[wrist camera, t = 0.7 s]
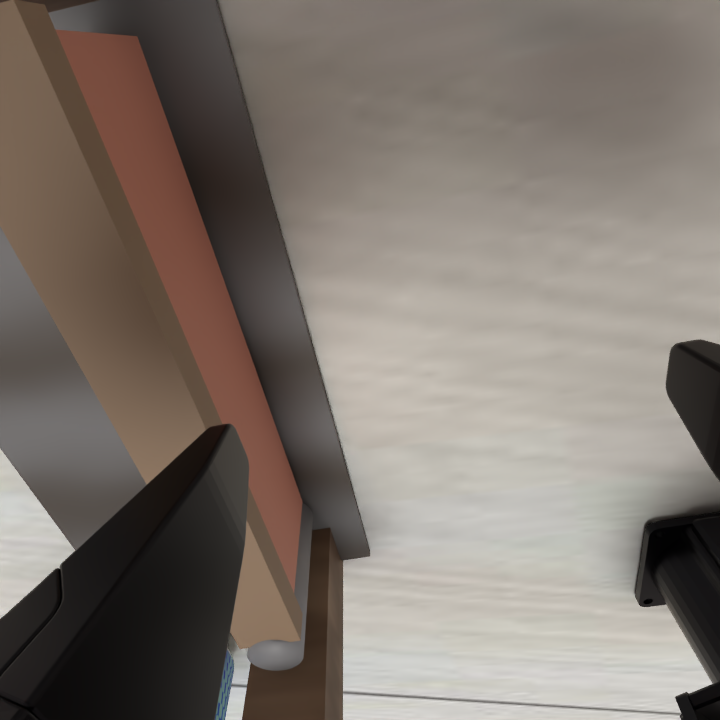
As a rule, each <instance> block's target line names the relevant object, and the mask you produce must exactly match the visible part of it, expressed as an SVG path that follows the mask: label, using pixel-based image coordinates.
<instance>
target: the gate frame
mask: <svg viewBox="0 0 720 720" xmlns="http://www.w3.org/2000/svg"><path fill="white" fill-rule="evenodd" d="M5 1H9V0H0V3H1V2H5ZM20 1H26V2H32V3H38V4H44V5H45V6H46V9H47V11H48V14H49V16H50V18H51V21H52V23H53V25H54V28H55V30H67V31H79V32H91V33H104V34H116V35H128V36H137V37H138V40H139V43H140V45H141V48H142V51H143V54H144V57H145V60H146V62H147V65H148V68H149V71H150V74H151V76H152V79H153V82H154V85H155V88H156V90H157V93H158V96H159V99H160V102H161V105H162V107H163V110H164V113H165V116H166V119H167V121H168V124H169V127H170V130H171V133H172V136H173V138H174V141H175V144H176V147H177V150H178V152H179V155H180V158H181V161H182V164H183V166H184V169H185V172H186V175H187V178H188V181H189V183H190V186H191V189H192V192H193V195H194V197H195V200H196V203H197V206H198V209H199V212H200V214H201V217H202V220H203V223H204V226H205V228H206V231H207V234H208V237H209V240H210V242H211V245H212V248H213V251H214V254H215V257H216V259H217V262H218V265H219V268H220V271H221V273H222V276H223V279H224V282H225V285H226V288H227V290H228V293H229V296H230V299H231V302H232V304H233V307H234V310H235V313H236V316H237V318H238V321H239V324H240V327H241V330H242V333H243V335H244V338H245V341H246V344H247V347H248V349H249V352H250V355H251V358H252V361H253V364H254V366H255V369H256V372H257V375H258V378H259V380H260V383H261V386H262V389H263V392H264V394H265V397H266V400H267V403H268V406H269V409H270V411H271V414H272V417H273V420H274V423H275V425H276V428H277V431H278V434H279V437H280V440H281V442H282V445H283V448H284V451H285V454H286V456H287V459H288V462H289V465H290V468H291V470H292V473H293V476H294V479H295V482H296V485H297V487H298V490H299V493H300V496H301V499H302V501H303V502H302V503H303V504H305V505H307V506H308V507H309V508H310V509H311V511H312V513H313V524H312V539H311V554H310V569H309V584H308V599H307V614H306V629H305V644H304V657H303V660H302V662H301V663H300V664H299V665H297V666H296V667H293V668H291V669H287V670H281V671H272V670H265V669H262V668H259V667H257V666H255V665H254V664H252V663H251V665H250V671H249V678H248V684H247V691H246V697H245V704H244V710H243V717H242V720H343V560H348V559H354V558H361V557H368V556H370V550H369V547H368V543H367V539H366V536H365V532H364V529H363V525H362V522H361V518H360V514H359V511H358V507H357V504H356V500H355V496H354V493H353V489H352V486H351V482H350V478H349V475H348V471H347V468H346V464H345V460H344V457H343V453H342V450H341V446H340V442H339V439H338V435H337V432H336V428H335V424H334V421H333V417H332V414H331V410H330V406H329V403H328V399H327V396H326V392H325V388H324V385H323V381H322V378H321V374H320V370H319V367H318V363H317V360H316V356H315V352H314V349H313V345H312V342H311V338H310V334H309V331H308V327H307V324H306V320H305V316H304V313H303V309H302V306H301V302H300V298H299V295H298V291H297V288H296V284H295V280H294V277H293V273H292V270H291V266H290V263H289V259H288V255H287V252H286V248H285V245H284V241H283V237H282V234H281V230H280V227H279V223H278V219H277V216H276V212H275V209H274V205H273V201H272V198H271V194H270V191H269V187H268V183H267V180H266V176H265V173H264V169H263V165H262V162H261V158H260V155H259V151H258V147H257V144H256V140H255V137H254V133H253V129H252V126H251V122H250V119H249V115H248V111H247V108H246V104H245V101H244V97H243V93H242V90H241V86H240V83H239V79H238V75H237V72H236V68H235V65H234V61H233V57H232V54H231V50H230V47H229V43H228V39H227V36H226V32H225V29H224V25H223V21H222V18H221V14H220V11H219V7H218V4H217V0H20ZM0 448H1V450H2V451H3V452H4V454H5V455H6V457H7V458H8V459H9V461H10V462H11V463H12V465H13V466H14V467H15V469H16V470H17V471H18V473H19V474H20V476H21V477H22V478H23V480H24V481H25V482H26V484H27V485H28V486H29V488H30V489H31V491H32V492H33V493H34V495H35V496H36V497H37V499H38V500H39V501H40V503H41V504H42V505H43V507H44V508H45V510H46V511H47V512H48V514H49V515H50V516H51V518H52V519H53V520H54V522H55V523H56V525H57V526H58V527H59V529H60V530H61V531H62V533H63V534H64V535H65V537H66V538H67V539H68V541H69V542H70V544H71V545H72V546H73V548H74V549H75V550H77V549H78V548H79V547H80V546H81V545H82V544H83V543H84V542H85V541H86V540H87V539H89V538H90V537H91V536H92V535H93V534H94V533H95V532H96V531H97V530H98V529H99V528H100V527H102V526H103V525H104V524H105V523H106V522H107V521H108V520H109V519H110V518H111V517H112V516H113V515H115V514H116V513H117V512H118V511H119V510H120V509H121V508H122V507H123V506H124V505H125V504H126V503H128V502H129V501H130V500H131V499H132V498H133V497H134V496H135V495H136V494H137V493H138V492H139V491H141V490H142V489H143V488H144V487H145V486H146V485H147V484H146V483H145V481H144V479H143V477H142V476H141V474H140V472H139V470H138V468H137V467H136V465H135V463H134V461H133V460H132V458H131V456H130V454H129V453H128V451H127V449H126V447H125V446H124V444H123V442H122V440H121V438H120V437H119V435H118V433H117V431H116V430H115V428H114V426H113V424H112V423H111V421H110V419H109V417H108V416H107V414H106V412H105V410H104V408H103V407H102V405H101V403H100V401H99V400H98V398H97V396H96V394H95V393H94V391H93V389H92V387H91V386H90V384H89V382H88V380H87V378H86V377H85V375H84V373H83V371H82V370H81V368H80V366H79V364H78V363H77V361H76V359H75V357H74V356H73V354H72V352H71V350H70V349H69V347H68V345H67V343H66V341H65V340H64V338H63V336H62V334H61V333H60V331H59V329H58V327H57V326H56V324H55V322H54V320H53V319H52V317H51V315H50V313H49V311H48V310H47V308H46V306H45V304H44V303H43V301H42V299H41V297H40V296H39V294H38V292H37V290H36V289H35V287H34V285H33V283H32V281H31V280H30V278H29V276H28V274H27V273H26V271H25V269H24V267H23V266H22V264H21V262H20V260H19V259H18V257H17V255H16V253H15V251H14V250H13V248H12V246H11V244H10V243H9V241H8V239H7V237H6V236H5V234H4V232H3V230H2V229H1V227H0Z"/></svg>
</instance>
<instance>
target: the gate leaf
mask: <svg viewBox="0 0 720 720" xmlns="http://www.w3.org/2000/svg"><path fill="white" fill-rule="evenodd" d="M0 227H1V229H2V230H3V232H4V234H5V236H6V237H7V239H8V241H9V243H10V244H11V246H12V248H13V250H14V251H15V253H16V255H17V257H18V259H19V260H20V262H21V264H22V266H23V267H24V269H25V271H26V273H27V274H28V276H29V278H30V280H31V281H32V283H33V285H34V287H35V289H36V290H37V292H38V294H39V296H40V297H41V299H42V301H43V303H44V304H45V306H46V308H47V310H48V311H49V313H50V315H51V317H52V319H53V320H54V322H55V324H56V326H57V327H58V329H59V331H60V333H61V334H62V336H63V338H64V340H65V341H66V343H67V345H68V347H69V349H70V350H71V352H72V354H73V356H74V357H75V359H76V361H77V363H78V364H79V366H80V368H81V370H82V371H83V373H84V375H85V377H86V378H87V380H88V382H89V384H90V386H91V387H92V389H93V391H94V393H95V394H96V396H97V398H98V400H99V401H100V403H101V405H102V407H103V408H104V410H105V412H106V414H107V416H108V417H109V419H110V421H111V423H112V424H113V426H114V428H115V430H116V431H117V433H118V435H119V437H120V438H121V440H122V442H123V444H124V446H125V447H126V449H127V451H128V453H129V454H130V456H131V458H132V460H133V461H134V463H135V465H136V467H137V468H138V470H139V472H140V474H141V476H142V477H143V479H144V481H145V483H146V484H148V483H149V482H150V481H151V480H152V479H154V478H155V477H156V476H157V475H158V474H159V473H160V472H161V471H162V470H163V469H164V468H165V467H166V466H168V465H169V464H170V463H171V462H172V461H173V460H174V459H175V458H176V457H177V456H178V455H179V454H181V453H182V452H183V451H184V450H185V449H186V448H187V447H188V446H189V445H190V444H191V443H192V442H194V441H195V440H196V439H197V438H198V437H199V436H200V435H201V434H202V433H203V432H204V431H205V430H206V429H208V428H209V427H211V426H216V425H221V424H227V423H230V424H232V425H233V426H234V427H235V428H236V430H237V433H238V435H239V437H240V440H241V442H242V445H243V447H244V449H245V452H246V454H247V457H248V461H249V485H248V504H247V522H246V538H245V547H244V554H243V561H242V566H241V572H240V578H239V584H238V589H237V595H236V601H235V607H234V612H233V618H232V624H231V630H230V633H231V634H232V636H233V638H234V640H235V641H236V643H237V645H238V647H239V648H240V649H243V648H248V653H247V656H248V659H249V661H250V662H251V663H252V664H254V665H255V666H257V667H259V668H262V669H265V670H272V671H281V670H287V669H291V668H293V667H296V666H297V665H299V664H300V663H301V662H302V660H303V657H304V644H305V629H306V614H307V599H308V584H309V569H310V554H311V539H312V524H313V513H312V511H311V509H310V508H309V507H308V506H307V505H305V504H303V503H302V502H303V501H302V499H301V496H300V493H299V490H298V487H297V485H296V482H295V479H294V476H293V473H292V470H291V468H290V465H289V462H288V459H287V456H286V454H285V451H284V448H283V445H282V442H281V440H280V437H279V434H278V431H277V428H276V425H275V423H274V420H273V417H272V414H271V411H270V409H269V406H268V403H267V400H266V397H265V394H264V392H263V389H262V386H261V383H260V380H259V378H258V375H257V372H256V369H255V366H254V364H253V361H252V358H251V355H250V352H249V349H248V347H247V344H246V341H245V338H244V335H243V333H242V330H241V327H240V324H239V321H238V318H237V316H236V313H235V310H234V307H233V304H232V302H231V299H230V296H229V293H228V290H227V288H226V285H225V282H224V279H223V276H222V273H221V271H220V268H219V265H218V262H217V259H216V257H215V254H214V251H213V248H212V245H211V242H210V240H209V237H208V234H207V231H206V228H205V226H204V223H203V220H202V217H201V214H200V212H199V209H198V206H197V203H196V200H195V197H194V195H193V192H192V189H191V186H190V183H189V181H188V178H187V175H186V172H185V169H184V166H183V164H182V161H181V158H180V155H179V152H178V150H177V147H176V144H175V141H174V138H173V136H172V133H171V130H170V127H169V124H168V121H167V119H166V116H165V113H164V110H163V107H162V105H161V102H160V99H159V96H158V93H157V90H156V88H155V85H154V82H153V79H152V76H151V74H150V71H149V68H148V65H147V62H146V60H145V57H144V54H143V51H142V48H141V45H140V43H139V40H138V37H137V36H128V35H116V34H104V33H91V32H79V31H67V30H55V28H54V25H53V23H52V21H51V18H50V16H49V14H48V11H47V9H46V6H45V5H44V4H38V3H32V2H26V1H20V0H9V1H5V2H1V3H0Z"/></svg>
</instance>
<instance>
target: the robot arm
mask: <svg viewBox="0 0 720 720" xmlns="http://www.w3.org/2000/svg"><path fill="white" fill-rule="evenodd" d="M666 390H667V394H668V397H669V399H670V400H671V402H672V404H673V406H674V407H675V409H676V411H677V412H678V414H679V416H680V418H681V419H682V421H683V423H684V425H685V426H686V428H687V430H688V431H689V433H690V435H691V437H692V438H693V440H694V442H695V443H696V445H697V447H698V449H699V450H700V452H701V454H702V455H703V457H704V459H705V460H706V462H707V464H708V465H709V467H710V468H711V470H712V471H713V473H714V474H715V476H716V477H717V478H718V480H719V481H720V345H719V344H715V343H712V342H708V341H705V340H692V341H686V342H681V343H676V344H675V345H674V346H673V347H672V348H671V351H670V356H669V363H668V371H667V378H666ZM248 485H249V461H248V457H247V454H246V452H245V449H244V447H243V445H242V442H241V440H240V437H239V435H238V433H237V430H236V428H235V427H234V426H233V425H232V424H230V423H227V424H221V425H216V426H211V427H209V428H208V429H206V430H205V431H204V432H203V433H202V434H201V435H200V436H199V437H198V438H197V439H196V440H195V441H194V442H192V443H191V444H190V445H189V446H188V447H187V448H186V449H185V450H184V451H183V452H182V453H181V454H179V455H178V456H177V457H176V458H175V459H174V460H173V461H172V462H171V463H170V464H169V465H168V466H166V467H165V468H164V469H163V470H162V471H161V472H160V473H159V474H158V475H157V476H156V477H155V478H154V479H152V480H151V481H150V482H149V483H148V484H147V485H146V486H145V487H144V488H143V489H142V490H141V491H139V492H138V493H137V494H136V495H135V496H134V497H133V498H132V499H131V500H130V501H129V502H128V503H126V504H125V505H124V506H123V507H122V508H121V509H120V510H119V511H118V512H117V513H116V514H115V515H113V516H112V517H111V518H110V519H109V520H108V521H107V522H106V523H105V524H104V525H103V526H102V527H100V528H99V529H98V530H97V531H96V532H95V533H94V534H93V535H92V536H91V537H90V538H89V539H87V540H86V541H85V542H84V543H83V544H82V545H81V546H80V547H79V548H78V549H77V550H76V551H75V552H73V553H72V554H71V555H70V556H69V557H68V558H67V559H66V560H65V561H64V562H63V563H62V564H61V565H60V569H59V568H57V569H55V570H54V571H53V572H52V573H51V574H49V575H48V576H47V577H46V578H45V579H44V580H43V581H42V582H41V583H40V584H39V585H38V586H37V587H36V588H34V589H33V590H32V591H31V592H30V593H29V594H28V595H27V596H25V597H24V598H23V599H22V600H21V601H20V602H19V603H18V604H17V605H15V606H14V607H13V608H12V609H11V610H10V611H9V612H8V613H7V614H5V615H4V616H3V617H2V618H1V619H0V720H215V716H216V711H217V705H218V699H219V693H220V687H221V682H222V676H223V670H224V664H225V659H226V653H227V647H228V641H229V636H230V630H231V624H232V618H233V612H234V607H235V601H236V595H237V589H238V584H239V578H240V572H241V566H242V561H243V554H244V547H245V538H246V522H247V504H248ZM635 597H636V600H637V602H638V603H639V605H640V606H642V607H650V606H658V605H665V604H666V605H667V606H668V608H669V610H670V611H671V613H672V615H673V617H674V618H675V620H676V622H677V623H678V625H679V627H680V629H681V630H682V632H683V634H684V635H685V637H686V639H687V640H688V642H689V644H690V646H691V647H692V649H693V651H694V652H695V654H696V656H697V658H698V659H699V661H700V663H701V664H702V666H703V668H704V670H705V671H706V673H707V675H708V676H709V678H710V680H711V681H712V683H713V684H712V685H709V686H707V687H705V688H702V689H700V690H697V691H695V692H692V693H690V694H688V693H687V692H685V693H683V694H680V695H678V696H676V697H675V698H676V701H677V703H678V706H679V708H680V711H681V713H682V714H681V715H680V718H681V720H720V512H719V513H712V514H705V515H699V516H692V517H685V518H678V519H672V520H665V521H658V522H654V523H651V524H649V525H648V526H647V527H646V529H645V533H644V540H643V547H642V553H641V560H640V567H639V574H638V581H637V588H636V595H635Z"/></svg>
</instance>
